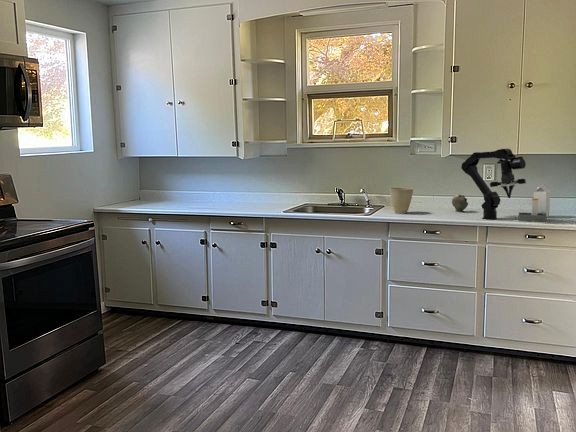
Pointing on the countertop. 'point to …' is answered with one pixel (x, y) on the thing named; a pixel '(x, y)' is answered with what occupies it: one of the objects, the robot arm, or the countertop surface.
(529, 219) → the switch housing
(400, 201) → the plant pot
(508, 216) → the countertop surface
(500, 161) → the robot arm
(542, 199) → the milk carton
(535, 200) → the switch lever
